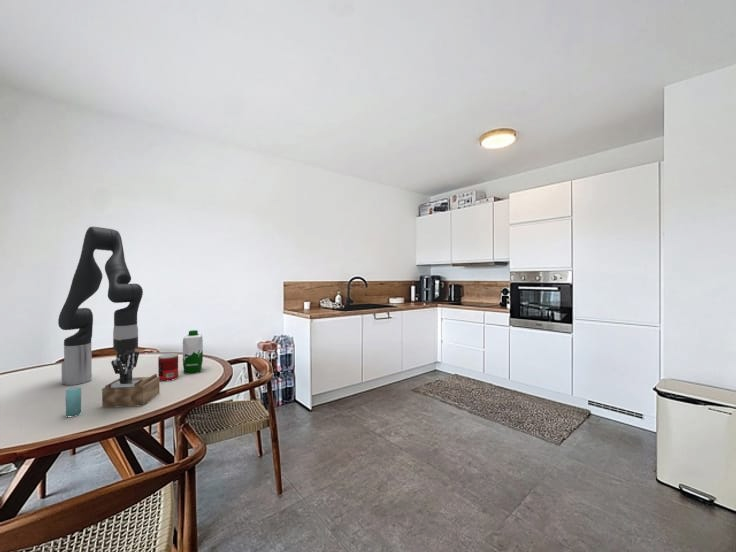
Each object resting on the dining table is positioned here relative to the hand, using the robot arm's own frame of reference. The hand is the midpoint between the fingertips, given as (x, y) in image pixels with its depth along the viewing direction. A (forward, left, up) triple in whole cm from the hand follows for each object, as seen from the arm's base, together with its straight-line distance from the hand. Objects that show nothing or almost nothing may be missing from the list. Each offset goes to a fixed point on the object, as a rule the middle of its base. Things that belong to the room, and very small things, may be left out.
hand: (126, 381), depth 121 cm
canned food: (+2, +29, -9) cm, 30 cm away
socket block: (0, +4, -9) cm, 9 cm away
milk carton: (+9, +39, -9) cm, 41 cm away
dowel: (-13, -7, -9) cm, 17 cm away
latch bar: (0, 0, -1) cm, 1 cm away
